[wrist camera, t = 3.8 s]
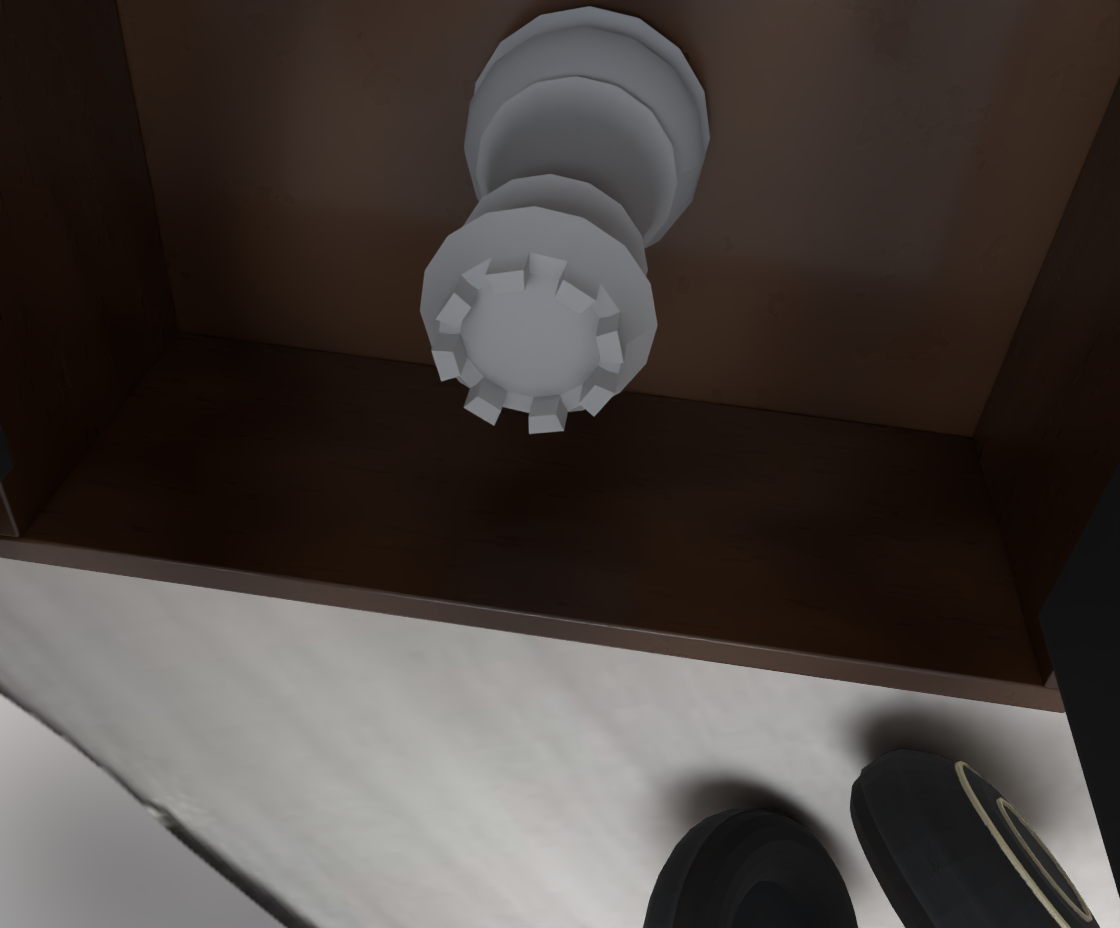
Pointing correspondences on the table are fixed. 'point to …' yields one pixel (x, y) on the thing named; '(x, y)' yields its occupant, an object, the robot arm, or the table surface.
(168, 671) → the table surface
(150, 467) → the chest
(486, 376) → the rook chess piece
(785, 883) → the headphones
